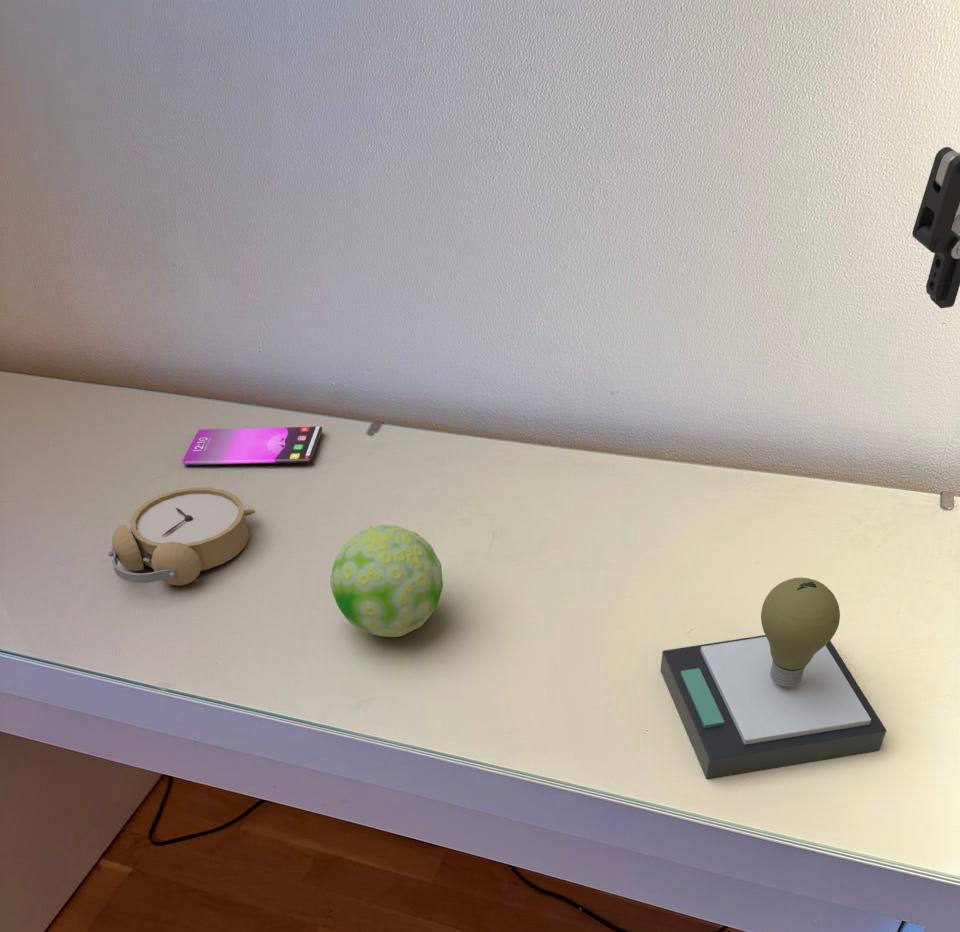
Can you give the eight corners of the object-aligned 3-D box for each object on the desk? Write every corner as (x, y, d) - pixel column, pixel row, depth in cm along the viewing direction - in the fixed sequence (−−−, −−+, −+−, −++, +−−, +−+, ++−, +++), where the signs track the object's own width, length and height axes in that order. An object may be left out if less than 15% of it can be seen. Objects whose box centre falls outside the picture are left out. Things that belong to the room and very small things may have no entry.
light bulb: (777, 647, 79) (799, 552, 72) (835, 683, 76) (863, 587, 69) (733, 680, 77) (751, 585, 70) (791, 718, 74) (815, 623, 67)
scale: (816, 645, 83) (823, 620, 81) (879, 750, 75) (889, 725, 73) (660, 670, 82) (662, 645, 80) (706, 779, 74) (710, 754, 72)
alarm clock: (268, 501, 98) (164, 565, 87) (272, 544, 101) (172, 610, 90) (184, 476, 102) (74, 534, 91) (190, 518, 105) (85, 578, 94)
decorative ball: (457, 592, 91) (449, 506, 84) (431, 666, 84) (421, 579, 77) (358, 582, 93) (342, 497, 86) (325, 654, 86) (305, 568, 79)
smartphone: (311, 466, 108) (310, 459, 107) (182, 466, 109) (180, 460, 108) (324, 431, 113) (322, 425, 112) (200, 432, 114) (198, 425, 114)
